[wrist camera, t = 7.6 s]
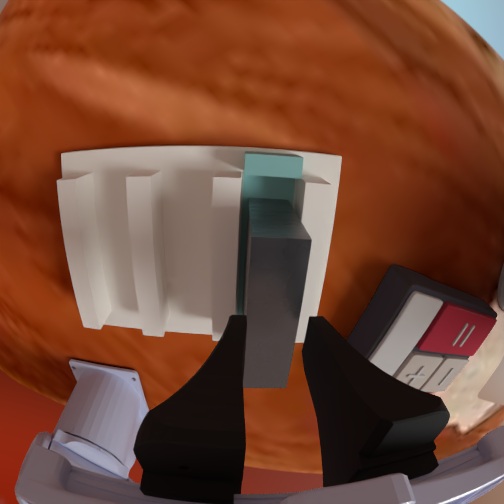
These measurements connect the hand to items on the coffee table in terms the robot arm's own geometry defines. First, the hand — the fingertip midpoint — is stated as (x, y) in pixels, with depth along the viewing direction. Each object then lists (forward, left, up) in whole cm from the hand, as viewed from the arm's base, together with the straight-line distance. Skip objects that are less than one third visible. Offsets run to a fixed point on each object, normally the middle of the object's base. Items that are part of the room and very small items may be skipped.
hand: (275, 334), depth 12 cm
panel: (-1, 0, -8) cm, 8 cm away
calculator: (-8, -16, -10) cm, 21 cm away
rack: (0, +5, -9) cm, 11 cm away
